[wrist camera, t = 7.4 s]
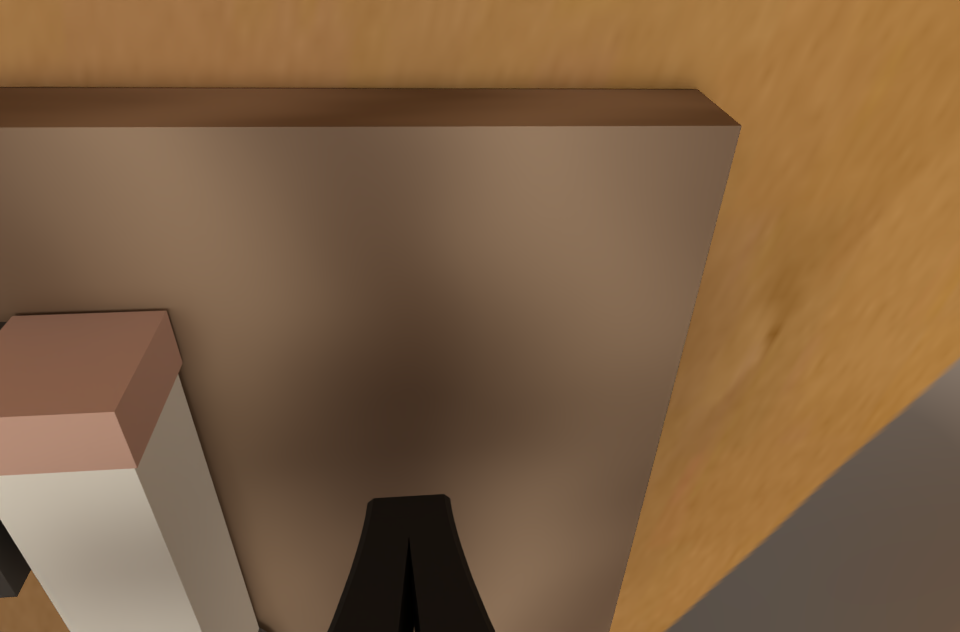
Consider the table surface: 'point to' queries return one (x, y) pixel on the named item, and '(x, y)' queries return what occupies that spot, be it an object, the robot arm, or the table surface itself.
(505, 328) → the stool seat
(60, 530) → the folding leg
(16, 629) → the table surface
